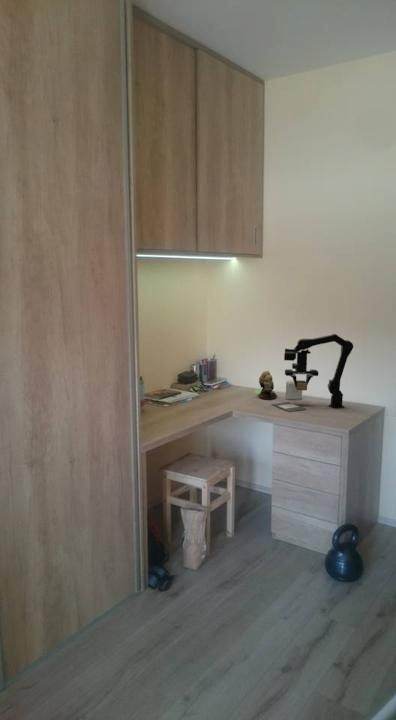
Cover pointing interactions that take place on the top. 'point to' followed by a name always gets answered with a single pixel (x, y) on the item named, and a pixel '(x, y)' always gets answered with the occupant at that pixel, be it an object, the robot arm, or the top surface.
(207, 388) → the top surface
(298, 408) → the picture frame
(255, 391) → the top surface
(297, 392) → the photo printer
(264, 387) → the bust sculpture
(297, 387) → the walnut card box
